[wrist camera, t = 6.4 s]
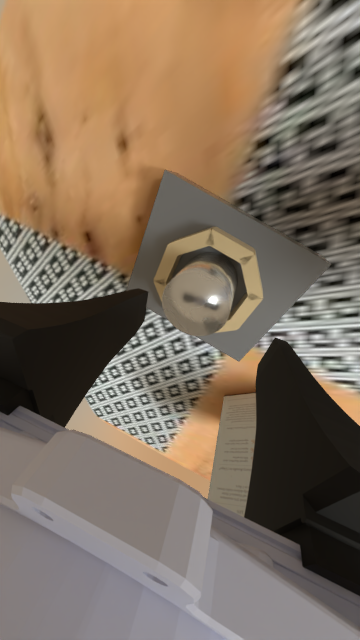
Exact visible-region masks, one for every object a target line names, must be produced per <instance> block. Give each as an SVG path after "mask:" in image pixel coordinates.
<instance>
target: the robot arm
mask: <svg viewBox="0 0 360 640" xmlns="http://www.w3.org/2000/svg"><path fill="white" fill-rule="evenodd" d="M147 298H148V291H145V290H142V289H140V288H137V289H132V290H128V291H124V292H120V293H116V294H112V295H108V296H103V297H98V298H93V299H88V300H82V301H74V302H62V303H35V304H33V303H7V302H0V640H360V426H359V425H358V424H357V423H356V422H355V421H354V420H352V419H351V418H350V417H349V416H348V415H347V414H346V413H345V412H344V411H343V410H342V409H341V408H340V407H339V406H338V405H337V403H336V402H335V401H334V400H333V399H332V398H331V397H330V396H329V395H328V394H327V393H326V392H325V390H324V389H323V388H322V387H321V386H320V384H319V383H318V382H317V381H316V380H315V378H314V377H313V376H312V374H311V373H310V372H309V371H308V369H307V368H306V366H305V365H304V364H303V362H302V361H301V360H300V358H299V357H298V356H297V354H296V353H295V351H294V350H293V349H292V347H291V346H290V345H289V344H288V342H286V341H283V340H280V339H277V338H275V339H274V340H273V342H272V343H271V345H270V347H269V348H268V350H267V351H266V353H265V355H264V356H263V358H262V359H261V361H260V363H259V364H258V369H257V376H256V435H255V445H254V454H253V462H252V470H251V477H250V484H249V491H248V497H247V503H246V509H245V515H244V517H242V516H240V515H238V514H236V513H234V512H232V511H230V510H228V509H226V508H224V507H222V506H220V505H218V504H216V503H214V502H212V501H210V500H208V499H206V498H204V497H203V496H202V495H201V494H200V493H199V492H198V491H197V490H195V489H194V488H192V487H190V486H189V485H187V484H186V483H184V482H183V481H181V480H179V479H177V478H175V477H173V476H171V475H169V474H167V473H165V472H163V471H161V470H159V469H157V468H155V467H153V466H151V465H149V464H147V463H145V462H143V461H141V460H139V459H137V458H134V457H133V456H131V455H129V454H126V453H125V452H123V451H121V450H119V449H117V448H114V447H113V446H111V445H108V444H107V443H104V442H102V441H100V440H98V439H96V438H94V437H92V436H90V435H87V434H84V433H82V432H79V431H76V430H68V429H66V428H65V426H66V424H67V423H68V421H69V420H70V418H71V417H72V415H73V413H74V412H75V410H76V408H77V407H78V406H79V404H80V403H81V401H82V399H83V398H84V397H85V395H86V394H87V392H88V391H89V389H90V388H91V386H92V385H93V384H94V382H95V381H96V379H97V378H98V377H99V375H100V374H101V373H102V371H103V370H104V368H105V367H106V366H107V364H108V363H109V362H110V361H111V360H112V359H113V357H114V356H115V355H116V354H117V353H118V352H119V351H120V350H121V349H122V348H123V347H124V346H125V345H126V343H127V342H128V341H129V340H130V339H131V338H132V337H133V336H134V335H135V334H136V332H137V331H138V329H139V328H140V326H141V325H142V323H143V322H144V319H145V312H146V305H147Z"/></svg>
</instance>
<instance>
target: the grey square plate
mask: <svg viewBox="0 0 360 640" xmlns="http://www.w3.org/2000/svg"><path fill="white" fill-rule="evenodd" d="M208 252H212V253H218V254H220V255H223V256H224V257H226V258H227V259H228V260H229V261H230V262H231V263H232V264H233V266H234V267H235V270H236V273H237V286H236V290H235V294H234V298H233V302H232V306H231V310H230V314H229V317H228V320H227V322H226V323H225V325H224V326H223V327H222V328H221V329H220V330H219V331H217V332H215V333H213V334H210V335H206V336H196V337H198V338H199V339H201V340H203V341H205V342H206V343H208V344H210V345H211V346H213V347H215V348H217V349H218V350H220V351H222V352H223V353H225V354H227V355H229V356H230V357H232V358H234V359H235V360H237V361H240V360H241V359H242V358H243V357H244V356H245V355H246V354H247V353H248V351H249V350H250V349H251V348H252V347H253V346H254V345H255V344H256V343H257V342H258V341H259V340H260V339H261V338H262V337H263V336H264V335H265V334H266V333H267V332H268V330H269V329H270V328H271V327H272V326H273V325H274V324H275V323H276V322H277V321H278V320H279V319H280V318H281V317H282V316H283V315H284V314H285V313H286V312H287V311H288V309H289V308H290V307H291V306H292V305H293V304H294V303H295V302H296V301H297V300H298V299H299V298H300V297H301V296H302V295H303V294H304V293H305V292H306V291H307V290H308V288H309V287H310V286H311V285H312V284H313V283H314V282H315V281H316V280H317V279H318V278H319V277H320V276H321V275H322V274H323V273H324V272H325V271H326V270H327V268H328V267H329V266H330V265H331V263H329V262H328V261H327V260H326V259H325V258H324V257H323V256H322V255H320V254H318V253H317V252H315V251H313V250H311V249H310V248H308V247H306V246H304V245H303V244H301V243H299V242H297V241H295V240H294V239H292V238H290V237H288V236H287V235H285V234H283V233H281V232H280V231H278V230H276V229H274V228H273V227H271V226H269V225H267V224H266V223H264V222H262V221H260V220H259V219H257V218H255V217H253V216H251V215H250V214H248V213H246V212H244V211H243V210H241V209H239V208H237V207H236V206H234V205H232V204H230V203H229V202H227V201H225V200H223V199H222V198H220V197H218V196H216V195H215V194H213V193H211V192H209V191H207V190H206V189H204V188H202V187H200V186H199V185H197V184H195V183H193V182H192V181H190V180H188V179H186V178H185V177H183V176H181V175H179V174H178V173H175V172H171V171H168V170H165V171H164V174H163V178H162V181H161V184H160V187H159V190H158V193H157V196H156V200H155V203H154V206H153V209H152V212H151V215H150V218H149V221H148V225H147V228H146V231H145V234H144V237H143V240H142V243H141V247H140V250H139V253H138V256H137V259H136V262H135V265H134V268H133V272H132V275H131V278H130V281H129V284H128V287H127V290H126V291H128V290H132V289H137V288H140V289H142V290H145V291H148V298H147V305H146V307H147V308H148V309H150V310H152V311H153V312H155V313H157V314H158V315H160V316H162V317H164V318H165V319H167V317H166V315H165V313H164V310H163V307H162V295H163V291H164V289H165V287H166V285H167V284H168V283H169V282H170V281H171V280H172V279H173V278H174V277H175V276H176V275H177V274H178V273H179V272H180V271H181V270H182V269H183V268H184V267H185V266H186V265H187V264H188V263H189V262H190V261H191V260H192V259H193V258H194V257H196V256H197V255H199V254H202V253H208ZM167 320H168V319H167Z"/></svg>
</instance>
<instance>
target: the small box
mask: <svg viewBox="0 0 360 640" xmlns="http://www.w3.org/2000/svg"><path fill="white" fill-rule="evenodd" d="M255 435H256V393H250V394H241V395H232V396H224V400H223V406H222V412H221V418H220V424H219V431H218V437H217V443H216V450H215V456H214V463H213V469H212V475H211V482H210V488H209V494H208V500H210V501H212V502H214V503H216V504H218V505H220V506H222V507H224V508H226V509H228V510H230V511H232V512H234V513H236V514H238V515H240V516H242V517H244V515H245V509H246V503H247V497H248V491H249V484H250V477H251V470H252V462H253V454H254V445H255Z"/></svg>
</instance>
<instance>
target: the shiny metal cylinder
mask: <svg viewBox="0 0 360 640" xmlns="http://www.w3.org/2000/svg"><path fill="white" fill-rule="evenodd" d="M236 286H237V273H236V270H235V267H234V266H233V264H232V263H231V262H230V261H229V260H228V259H227V258H226V257H224V256H223V255H220V254H218V253H212V252H208V253H202V254H199V255H197V256H196V257H194V258H193V259H192V260H191V261H190V262H189V263H188V264H187V265H186V266H185V267H184V268H183V269H182V270H181V271H180V272H179V273H178V274H177V275H176V276H175V277H174V278H173V279H172V280H171V281H170V282H169V283H168V284H167V285H166V287H165V289H164V291H163V295H162V307H163V310H164V313H165V315H166V317H167V319H168V320H169V321H170V322H171V324H172V325H173V326H175V327H176V328H177V329H179V330H180V331H182V332H184V333H186V334H190V335H194V336H206V335H210V334H213V333H215V332H217V331H219V330H220V329H221V328H222V327H223V326H224V325H225V323H226V322H227V320H228V317H229V314H230V310H231V306H232V302H233V298H234V294H235V290H236Z"/></svg>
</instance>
